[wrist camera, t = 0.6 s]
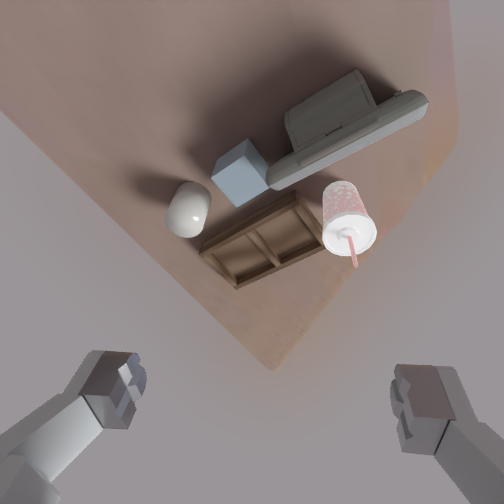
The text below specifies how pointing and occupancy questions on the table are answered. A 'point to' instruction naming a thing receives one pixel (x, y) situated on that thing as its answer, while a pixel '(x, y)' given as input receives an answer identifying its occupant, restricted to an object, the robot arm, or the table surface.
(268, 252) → the organiser base
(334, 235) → the beverage cup
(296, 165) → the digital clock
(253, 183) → the blue cube
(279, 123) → the table surface
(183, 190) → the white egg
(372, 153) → the table surface
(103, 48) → the table surface
